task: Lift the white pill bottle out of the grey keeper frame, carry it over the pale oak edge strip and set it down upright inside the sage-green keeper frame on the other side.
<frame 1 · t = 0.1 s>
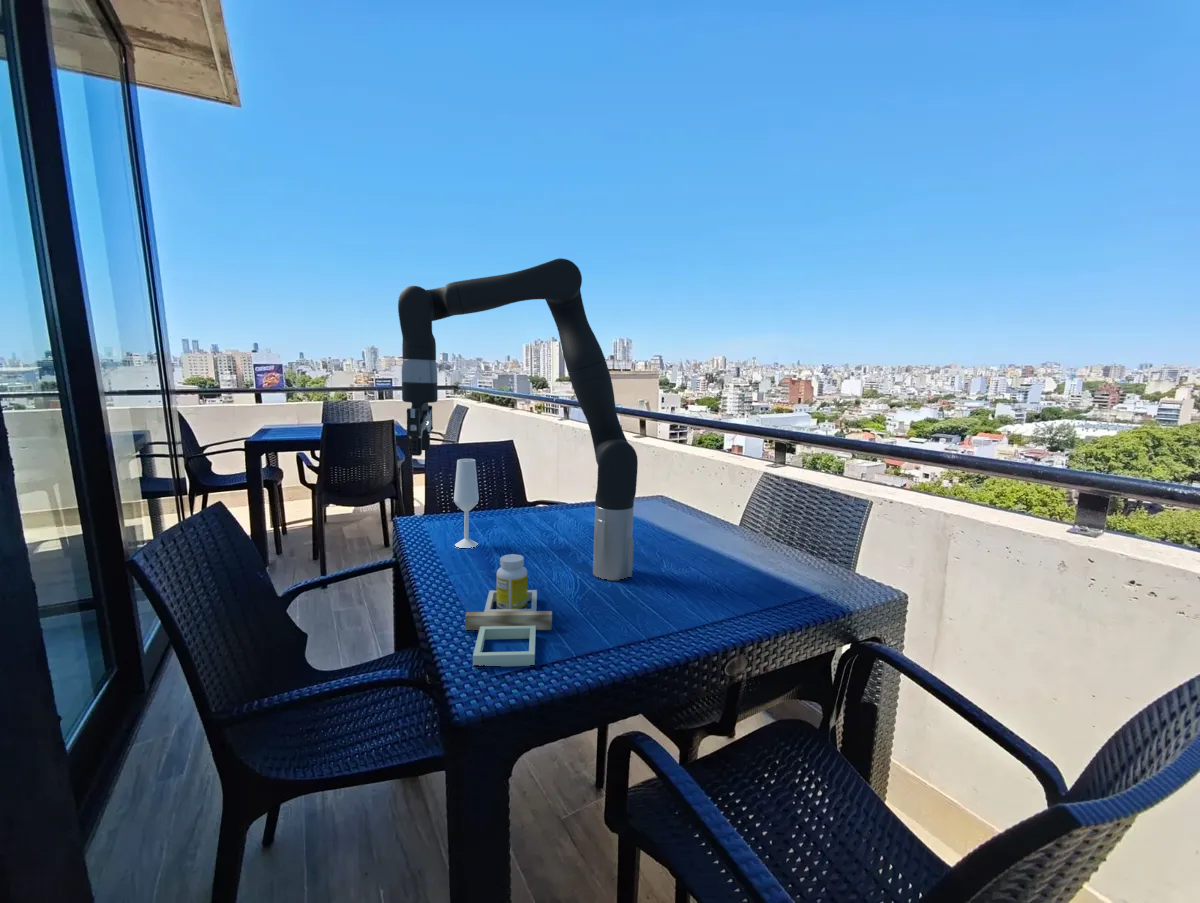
hand: (420, 452, 118), 29 cm above the table, tool pointing down, fingers open, 8 cm apart
keeper b: (506, 650, 90), on the table
keeper a: (511, 609, 106), on the table
pill bottle: (511, 610, 106), resting in keeper a
edge strip: (509, 628, 98), on the table
champagne flute: (466, 545, 145), on the table
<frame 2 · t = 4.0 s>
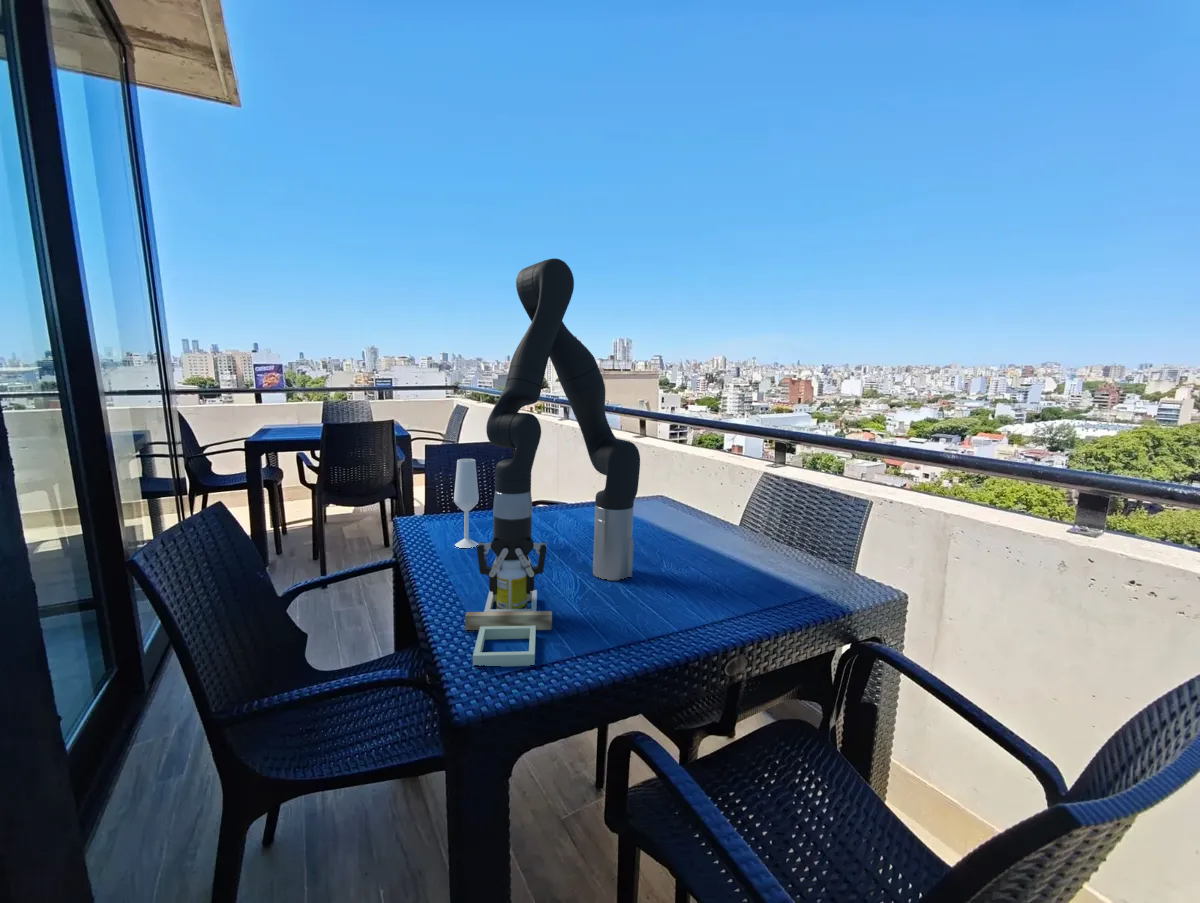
hand: (511, 592, 105), 4 cm above the table, tool pointing down, fingers closed on pill bottle, 6 cm apart
pill bottle: (511, 610, 106), resting in keeper a, touching gripper
everything else where it was.
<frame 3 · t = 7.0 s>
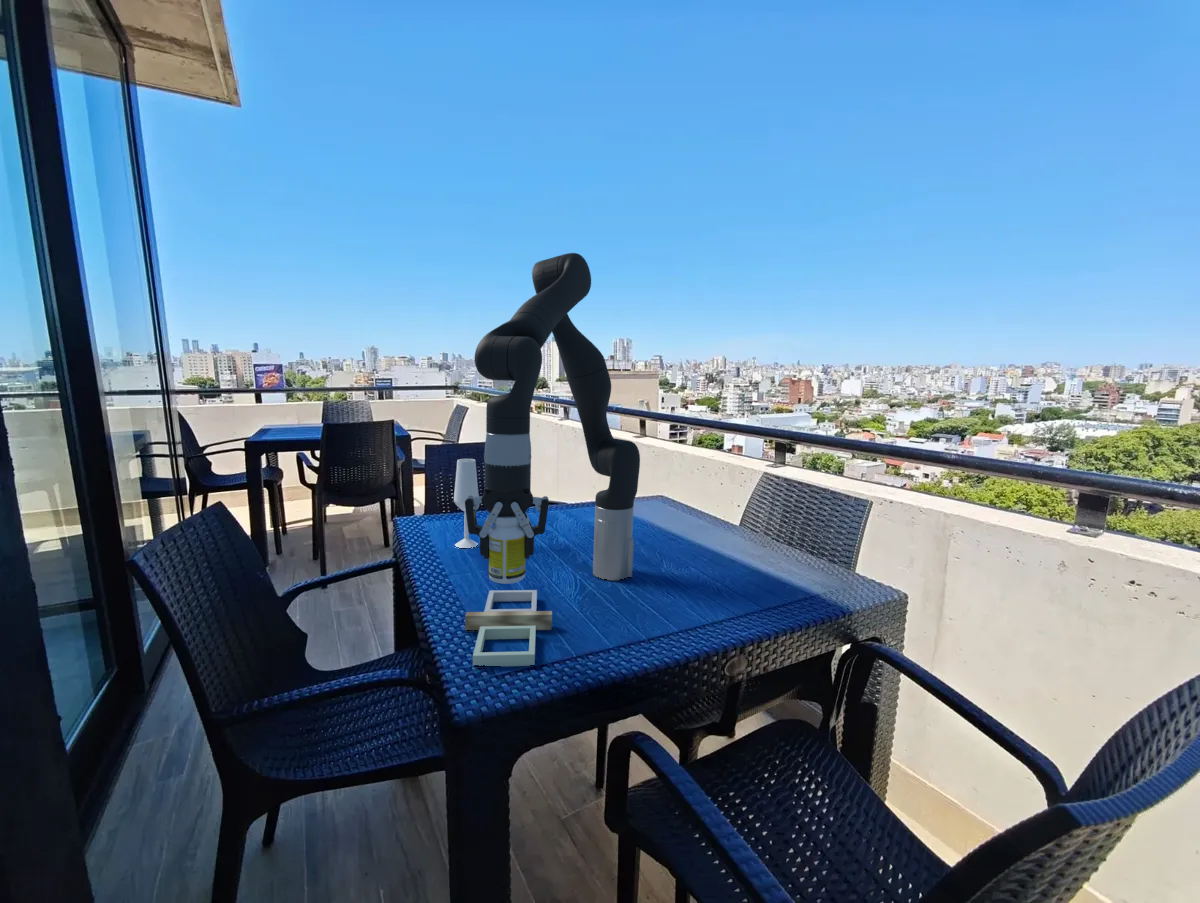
hand: (507, 557, 88), 17 cm above the table, tool pointing down, fingers closed on pill bottle, 6 cm apart
pill bottle: (507, 578, 88), point 13 cm above the table, touching gripper
everything else where it was.
when the fingers open (5 cm above the table, at t = 10.1 s): pill bottle stays where it is, resting in keeper b.
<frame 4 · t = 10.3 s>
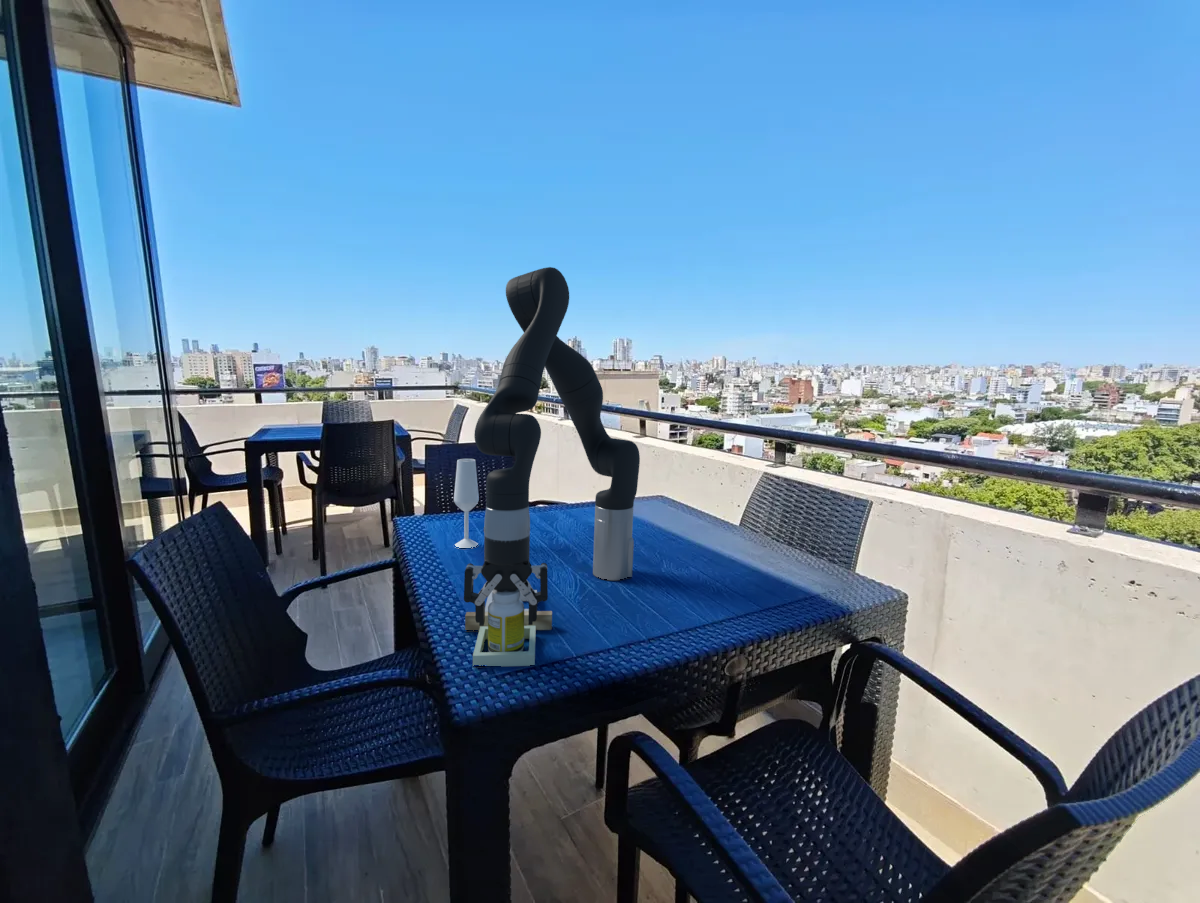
hand: (506, 623, 89), 5 cm above the table, tool pointing down, fingers open, 8 cm apart
pill bottle: (506, 651, 90), resting in keeper b
everything else where it was.
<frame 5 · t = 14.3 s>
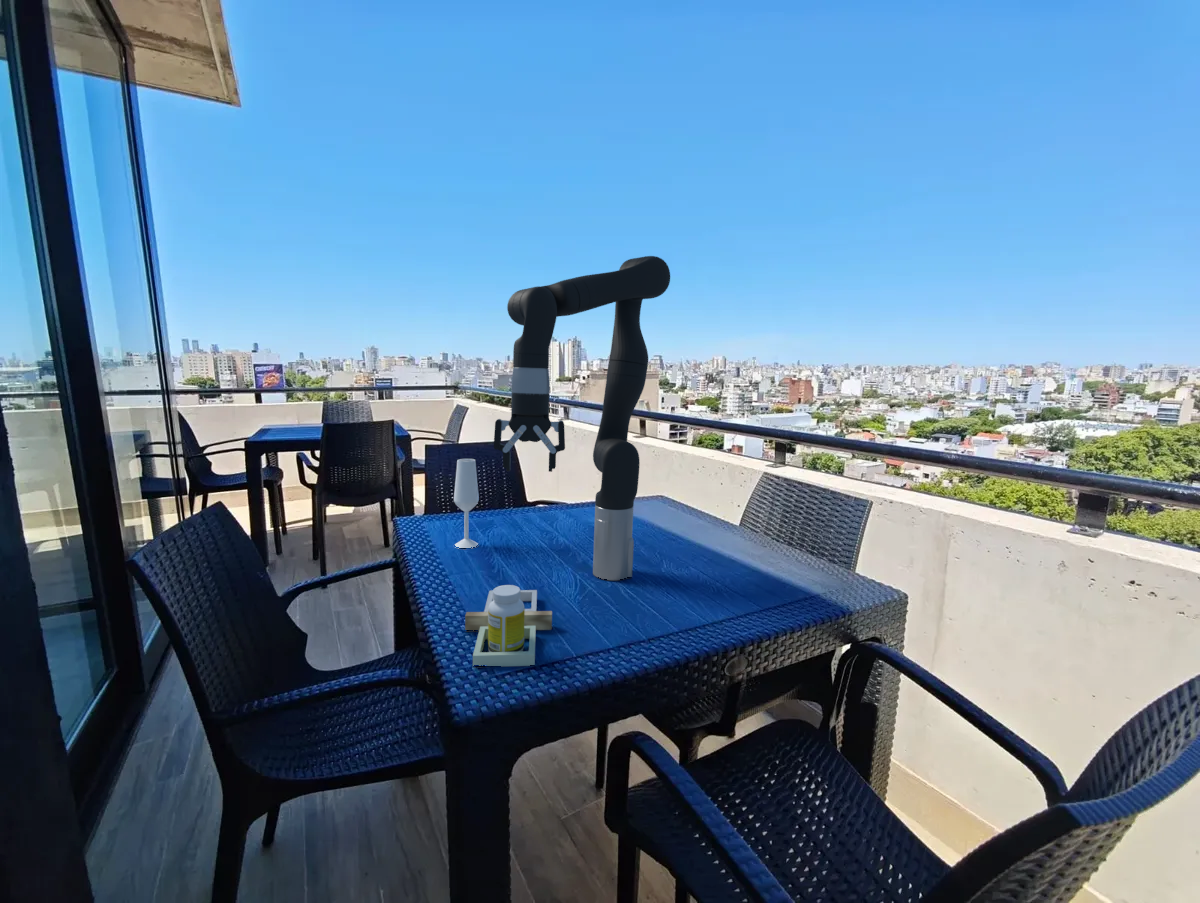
hand: (529, 470, 106), 28 cm above the table, tool pointing down, fingers open, 8 cm apart
nothing on the table moved.
at the end: pill bottle 0.1 cm off-centre on the keeper b, point 0.0 cm above the keeper b's base; pill bottle tilted 0°; the gripper is holding nothing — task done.
